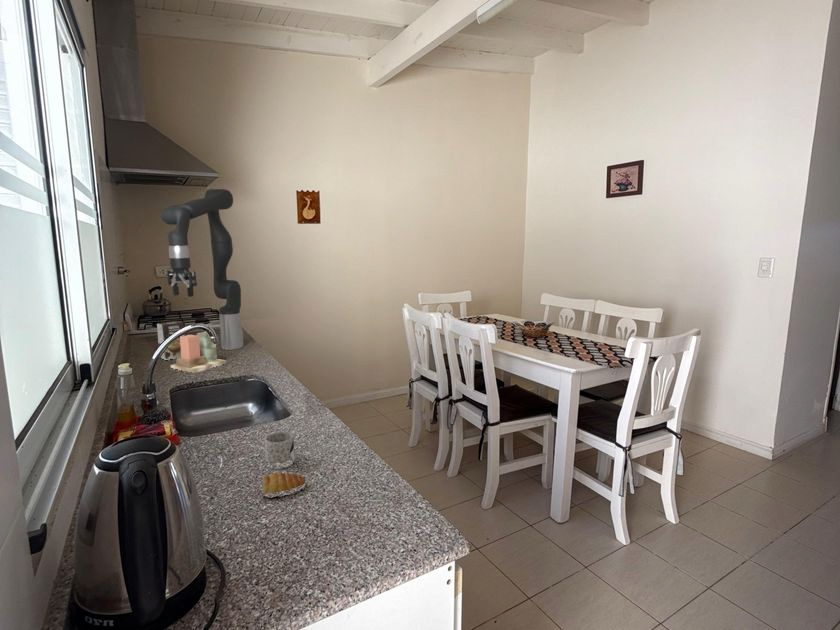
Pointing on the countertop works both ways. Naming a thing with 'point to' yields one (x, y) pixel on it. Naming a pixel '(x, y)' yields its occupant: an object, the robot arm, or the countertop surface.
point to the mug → (279, 447)
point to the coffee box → (166, 331)
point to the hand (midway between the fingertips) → (183, 295)
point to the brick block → (190, 347)
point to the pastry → (281, 482)
